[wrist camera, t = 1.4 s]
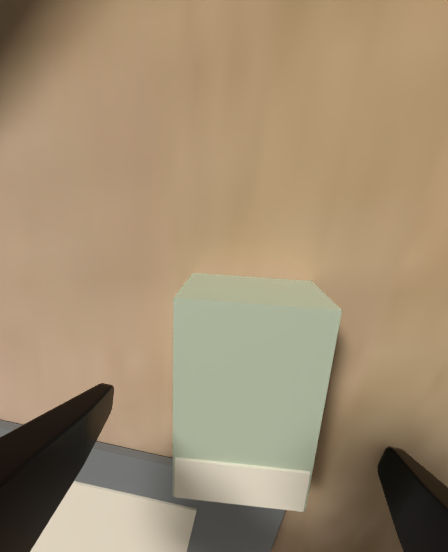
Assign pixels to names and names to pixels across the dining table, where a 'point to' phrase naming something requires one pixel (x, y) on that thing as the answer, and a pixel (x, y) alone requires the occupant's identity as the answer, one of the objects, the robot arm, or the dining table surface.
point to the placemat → (147, 511)
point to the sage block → (249, 388)
